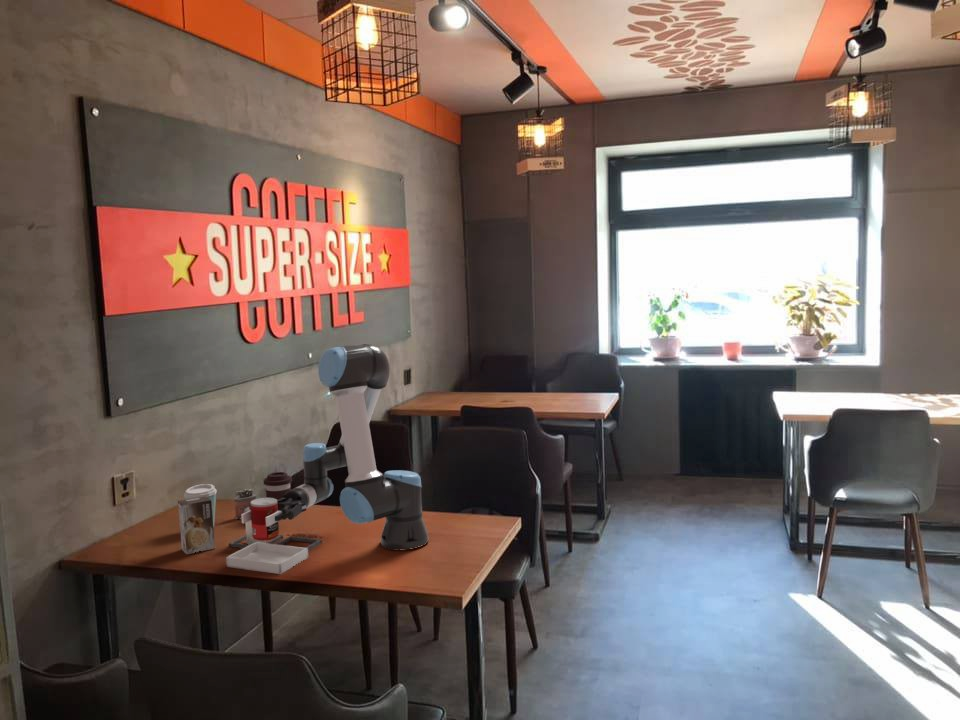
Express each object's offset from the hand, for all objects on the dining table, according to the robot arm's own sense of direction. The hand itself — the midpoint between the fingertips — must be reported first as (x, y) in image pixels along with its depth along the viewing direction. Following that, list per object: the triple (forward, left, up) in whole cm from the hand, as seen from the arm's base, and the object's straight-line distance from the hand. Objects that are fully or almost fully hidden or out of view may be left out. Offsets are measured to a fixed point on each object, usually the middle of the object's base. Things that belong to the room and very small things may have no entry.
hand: (254, 520), depth 235 cm
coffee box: (+29, -8, -15) cm, 33 cm away
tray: (0, -5, -14) cm, 15 cm away
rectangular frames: (+7, -19, -14) cm, 25 cm away
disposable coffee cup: (+41, -24, -15) cm, 49 cm away
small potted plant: (+36, -41, -15) cm, 56 cm away
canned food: (0, -5, -7) cm, 8 cm away
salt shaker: (+15, -19, -14) cm, 28 cm away
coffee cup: (+26, -47, -15) cm, 55 cm away
